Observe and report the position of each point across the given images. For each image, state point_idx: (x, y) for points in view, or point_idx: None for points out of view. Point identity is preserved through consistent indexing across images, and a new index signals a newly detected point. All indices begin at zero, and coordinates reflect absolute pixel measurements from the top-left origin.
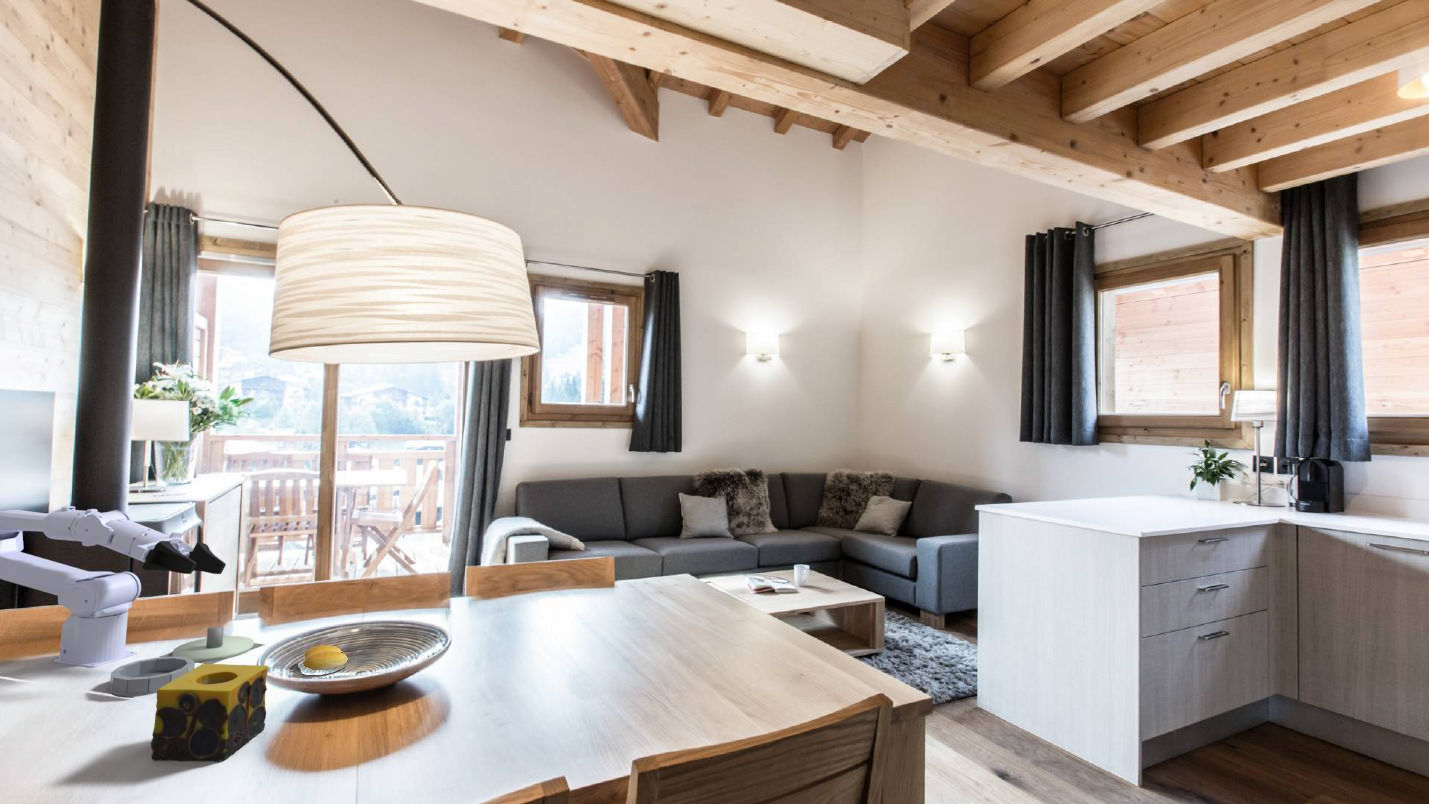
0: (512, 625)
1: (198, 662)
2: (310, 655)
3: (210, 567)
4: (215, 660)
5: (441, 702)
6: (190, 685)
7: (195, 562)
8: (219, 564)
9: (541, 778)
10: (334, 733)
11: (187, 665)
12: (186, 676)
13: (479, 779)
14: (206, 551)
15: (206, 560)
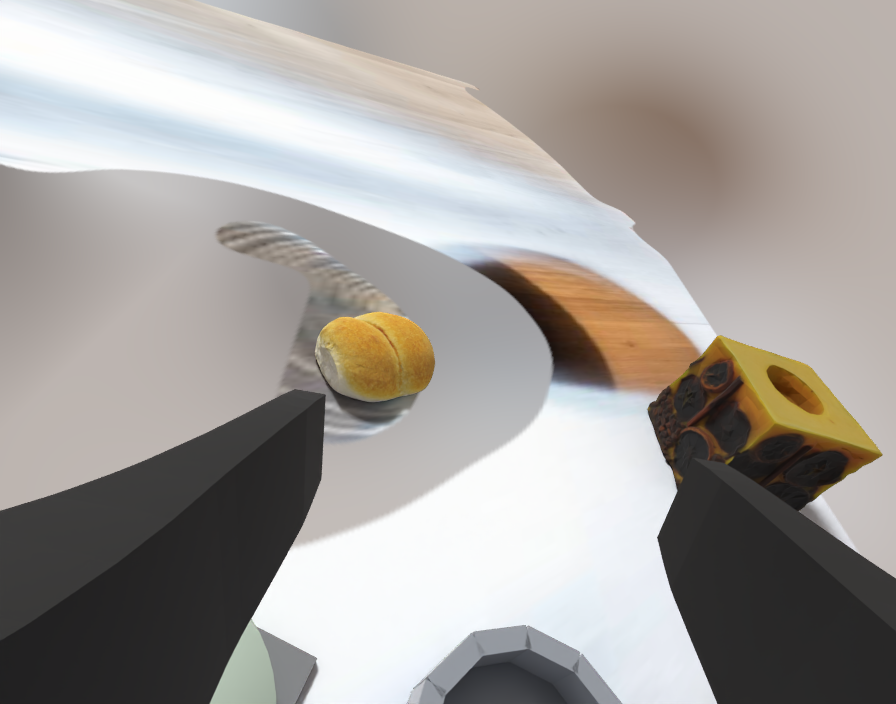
0: (158, 121)
1: None
2: (396, 359)
3: (271, 536)
4: (271, 662)
5: (519, 253)
6: (838, 414)
7: (706, 463)
8: (314, 429)
9: (638, 237)
10: (624, 339)
11: (502, 643)
12: (827, 430)
13: (655, 262)
14: (144, 535)
15: (215, 570)
